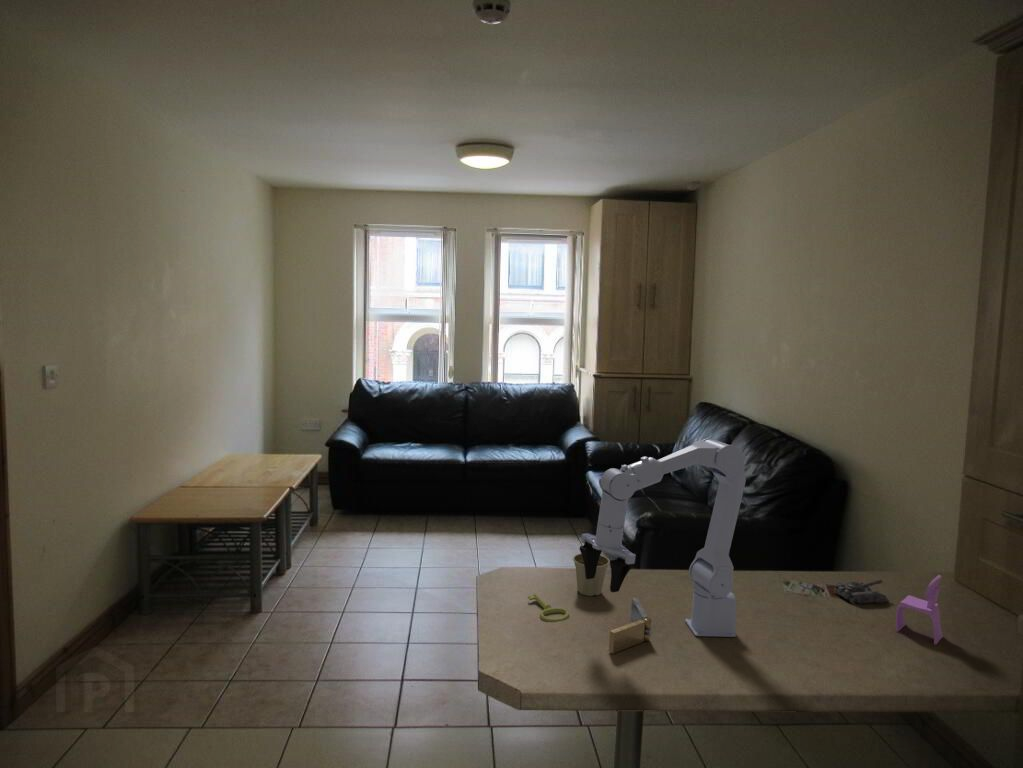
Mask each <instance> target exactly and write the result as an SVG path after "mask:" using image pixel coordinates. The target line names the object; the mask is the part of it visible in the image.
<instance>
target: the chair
mask: <svg viewBox="0 0 1023 768" xmlns="http://www.w3.org/2000/svg"><path fill="white" fill-rule="evenodd" d="M941 579H942V575H940V574H938V575H937V576H936V577H934V578H933V579H932V580H931V581H930V582H929V584H928V586H927V587H926V591H925V593H924V595H923V597H924V598H925V599H927V600H924V599H921V598H918V597H916V596H913V595H907V596H905V598H904V599H903V600H901V601H900V603H899V605H898V606H897V608H896V613H895V632H896V633H898V632H899V631H900V630H901V629H903V628H904V627H905V626H906V621H905V616H904V609H905V608H907V609H911V610H914V611H917V612H920V613H922V614H925V615H927V616H929V617H930V618H931V619H930V620H931V622H932V628H933V644H934V645H935V646H936V645H937V644H938V643H939V642H940V641H941V640H942V638H943V637H944V635H943V632H942V627H941V626H942V625H941V611H940V608H939V603H938V602H937V600H938V597H939V592H940V589H941V587H940V586H939V583H940V580H941Z"/></svg>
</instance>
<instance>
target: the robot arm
mask: <svg viewBox="0 0 1023 768" xmlns="http://www.w3.org/2000/svg"><path fill="white" fill-rule="evenodd" d="M745 462H746V456H745V455H744V453H743V452H742V451H741V450H740V449H739V447H738V446H736V445H733V444H727V443H725V442H723V441H720V440H717V439H715V438H712V437H706V438H704V439H702V440H697V441H694V442H693V443H692V444H690V445H688V446H685V447H683V448H681V449H680V450H678V451H675V452H673V453H670V454H668V455H666V456H664V457H662V458H659V459H656V458H654V457H653V456H652V457H651V456H649V457H648V456H646V455H645V456H642V457H640V460H639V461H636V462H633V463H631V464H628V465H627V464H621V467H620V468H619V469H618V468H614V467H612V468H609V469H607V470H605V471H604V473H603V474H602V475H601V478H599V479H598V484H599V488H600V490H601V499H600V505H599V512H598V520H597V526H596V533H595V535H594V534H591V533H588V532H587V533H582V534H581V540H580V543H582V544H583V545H581V546H579V552H580V554H582V557H583V561H584V566H585V575H586V579H593V578H594V577H595V574H596V569H597V564H598V560H599V557H600V555H601V554H602V552H604V553H605V554H608V555H610V556H612V557H613V558H616V559H609V561H610V563H609V565H610V573H611V575H610V585H609V590H610V592H611V593H618V592H620V589H621V588H622V584H623V583H624V581H625V578H626V577H627V575H628V573H629V572H630V570H631V569H632V568H633V567H634V566H635V562H636V556H637V555H636V553H633V552H631V551H630V550H628V548H626V547H625V546H623V545H622V544H623V543H622V541H623V537H624V531H625V530H624V529H625V525H626V523H625V522H626V517H627V516H626V515H627V511H628V503H629V502H628V501H629V499H630V498H632V496H633V495H634V493H635V492H636V491H639V490H642V489H644V488H647V487H650V486H653V485H654V484H657V483H658V484H659V482H661V481H662V479H663V477H664V475H665V474H669V473H673V472H675V471H678V470H681V469H685V468H689V467H692V466H695V465H698V466H701V467H702V466H703V467H706V468H707V469H709V470H710V471H711V472H712V474H713V475H714V476H715V477H716V479H717V481H718V482H719V483H718V487H717V492H716V496H715V501H714V504H713V508H712V513H711V517H710V520H709V526H708V529H707V535H706V539H705V542H704V543H705V544H704V547H703V548H701V549H700V550H697V552H696V555H695V557H694V559H693V561H692V562H691V563H690V566H689V567H688V575H689V578H690V580H692V582H693V585H692V587H693V594H692V604H691V605H692V606H691V609H692V610H691V618H685V619H684V621H685V623H686V625H687V626H688V627H689V629H690V630H691V631H692V633H693V634H694V636H696V637H721V638H723V637H724V638H725V637H728V638H729V637H730V638H731V637H732V638H735V637H737V634H736V626H737V625H736V624H737V612H738V605H737V598H736V596H735V595H734V593H733V592H732V590H733V588H734V583H735V582H734V575H733V573H734V569H735V568H734V565H733V562H732V560H731V558H730V550H731V546H732V541H733V537H734V533H735V529H736V525H737V521H738V517H739V512H740V508H741V503H742V499H743V494H744V491H745V486H746V481H747V478H746V476H747V475H746V472H745V471H746V470H745Z"/></svg>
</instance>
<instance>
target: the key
mask: <svg viewBox="0 0 1023 768" xmlns="http://www.w3.org/2000/svg"><path fill="white" fill-rule="evenodd" d="M527 599H529V601H533V600H535V601H536V602H537V603H538V604H539V605H540V606H541V607H542V608H543V610H541V611H540V613H539V618H540V620H542V621H545V622H560V621H564V620H567V619H568V618H569V617H570V613H569V611H568V609H566V608H563V607H552V606H551V604H547V603H546V602H545V600H544V599H542V597H541V596H539V595H538V594H537V593H534V594H533V595H528V596H527ZM554 613H555V614H557V613H559V614H560V613H561V614H563V615H562V616H559V617H548V616H547V615H548V614H549V615H550V614H554ZM545 615H546V616H545Z"/></svg>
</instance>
